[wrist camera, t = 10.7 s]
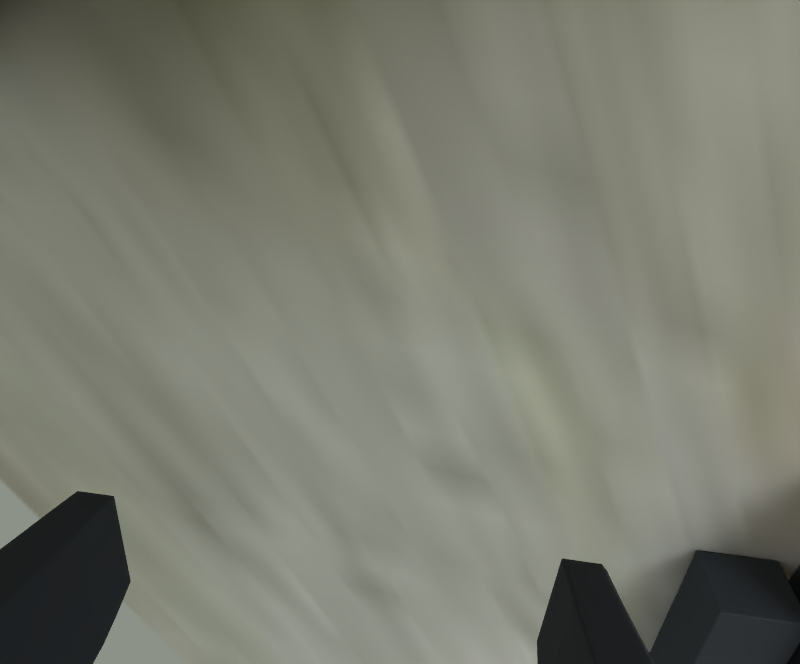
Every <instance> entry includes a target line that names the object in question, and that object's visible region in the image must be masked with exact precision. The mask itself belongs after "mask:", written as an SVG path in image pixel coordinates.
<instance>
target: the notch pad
mask: <svg viewBox="0 0 800 664" xmlns="http://www.w3.org/2000/svg"><path fill="white" fill-rule="evenodd" d="M799 644H800V603H799V601H798V599H797V597H796V595H795V593H794V591H793V589H792V587H791V585H790V583H789V581H788V579H787V577H786V575H785V573H784V571H783V569H782V567H781V565H780V563H779V562H777V561H770V560H763V559H756V558H748V557H741V556H734V555H726V554H719V553H712V552H705V551H696V553H695V555H694V557H693V559H692V562H691V564H690V566H689V568H688V570H687V573H686V575H685V577H684V579H683V582H682V584H681V586H680V588H679V590H678V593H677V595H676V597H675V599H674V601H673V604H672V606H671V608H670V610H669V612H668V615H667V617H666V619H665V621H664V624H663V626H662V628H661V630H660V632H659V635H658V637H657V639H656V641H655V643H654V646H653V648H652V650H651V652H650V656H651V658H652V660H653V662H654V663H655V664H787V663H788V661H789V660H790V658H791V656H792V655H793V653H794V652H795V650H796V649H797V647H798V645H799Z"/></svg>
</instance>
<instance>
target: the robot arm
mask: <svg viewBox="0 0 800 664" xmlns="http://www.w3.org/2000/svg"><path fill="white" fill-rule="evenodd" d="M129 584H130V576H129V571H128V566H127V560H126V555H125V550H124V545H123V540H122V535H121V530H120V525H119V520H118V515H117V510H116V505H115V499H114V496H109V495H101V494H94V493H87V492H80V491H77V492H76V493H75V494H73V495H72V496H70V497H69V498H68V499H66V500H65V501H64V502H62V503H61V504H60V505H58V506H57V507H56V508H54V509H53V510H52V511H50V512H49V513H48V514H46V515H45V516H44V517H42V518H41V519H40V520H38V521H37V522H36V523H34V524H33V525H32V526H30V527H29V528H28V529H27V530H25V531H24V532H23V533H21V534H20V535H19V536H17V537H16V538H15V539H13V540H12V541H11V542H10V543H8V544H7V545H5V546H4V547H3V548H1V549H0V664H93V662H94V660H95V659H96V657H97V655H98V653H99V651H100V650H101V648H102V646H103V644H104V642H105V639H106V637H107V635H108V633H109V631H110V628H111V626H112V624H113V622H114V620H115V617H116V615H117V613H118V610H119V608H120V605H121V603H122V601H123V598H124V596H125V593H126V591H127V589H128V586H129ZM537 657H538V664H655V663H654V662H653V660H652V658H651V656H650V654H649V652H648V651H647V649H646V647H645V645H644V643H643V641H642V639H641V637H640V636H639V634H638V632H637V630H636V628H635V626H634V624H633V622H632V620H631V618H630V617H629V615H628V613H627V611H626V609H625V607H624V605H623V603H622V601H621V599H620V597H619V595H618V593H617V591H616V589H615V587H614V585H613V583H612V581H611V578H610V576H609V574H608V572H607V570H606V569H605V568H604V567H603V565H602V564H597V563H590V562H582V561H575V560H568V559H562V560H561V563H560V567H559V570H558V573H557V577H556V580H555V583H554V587H553V590H552V593H551V597H550V600H549V603H548V606H547V610H546V613H545V616H544V620H543V623H542V626H541V630H540V633H539V636H538V640H537Z"/></svg>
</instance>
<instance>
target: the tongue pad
mask: <svg viewBox="0 0 800 664" xmlns="http://www.w3.org/2000/svg"><path fill="white" fill-rule="evenodd" d="M790 585H791V587H792V589H793V591H794V593H795V595H796V597H797V599H798V601H799V603H800V567H799V568H798V570H797V572H796V574H795V575H794V577H793V579H792V581H791V582H790ZM787 664H800V644H799V645H798V647H797V649H796V650H795V652H794V653H793V655H792V656H791V658H790V660H789V661H788V663H787Z"/></svg>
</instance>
